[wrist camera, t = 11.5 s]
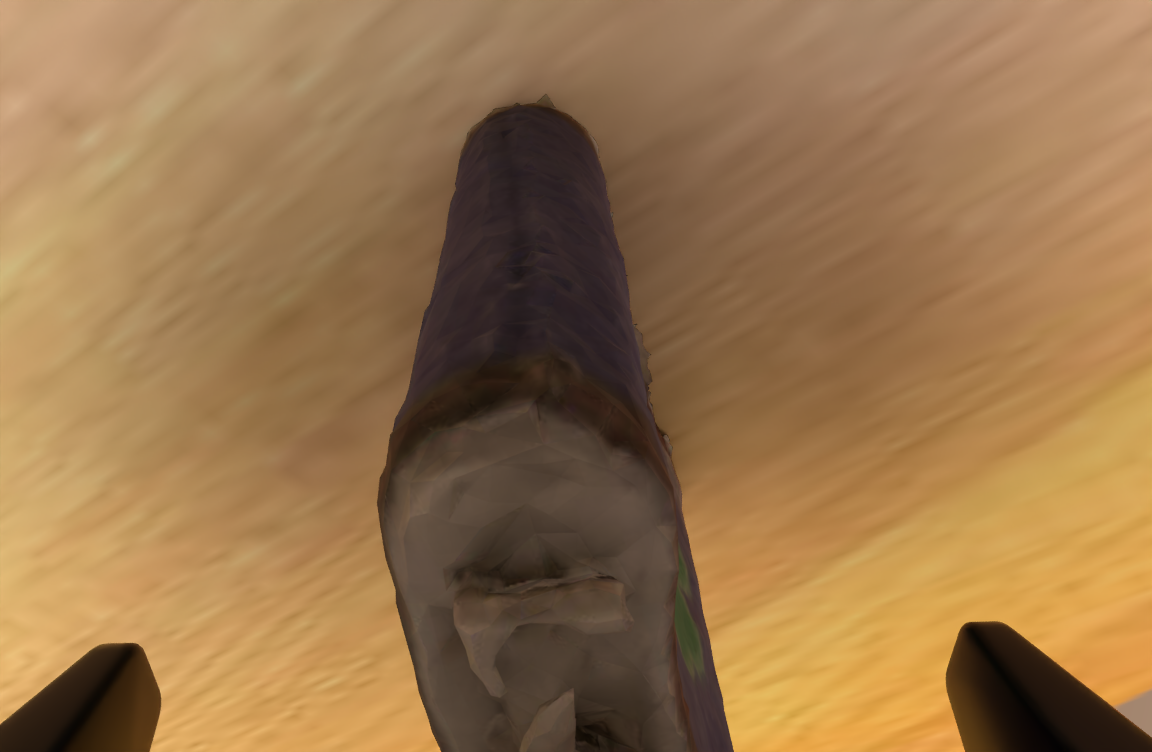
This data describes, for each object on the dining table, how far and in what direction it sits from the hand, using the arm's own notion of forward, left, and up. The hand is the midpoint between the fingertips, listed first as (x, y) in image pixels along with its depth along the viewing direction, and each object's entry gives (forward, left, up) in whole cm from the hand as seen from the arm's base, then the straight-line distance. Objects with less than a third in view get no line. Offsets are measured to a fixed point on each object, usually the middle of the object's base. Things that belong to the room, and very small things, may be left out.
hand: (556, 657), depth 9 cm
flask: (0, 0, -8) cm, 8 cm away
